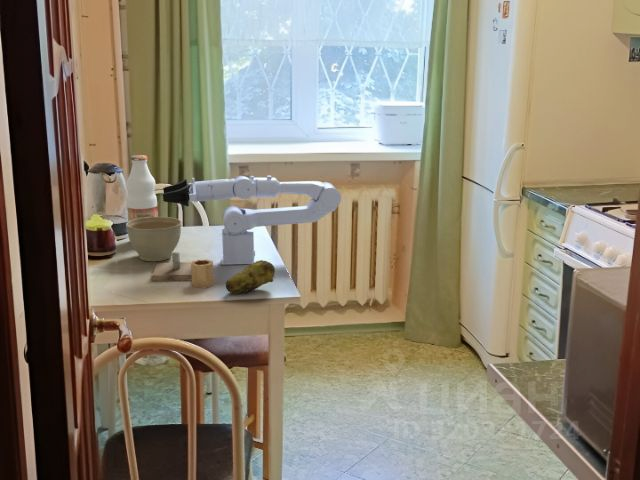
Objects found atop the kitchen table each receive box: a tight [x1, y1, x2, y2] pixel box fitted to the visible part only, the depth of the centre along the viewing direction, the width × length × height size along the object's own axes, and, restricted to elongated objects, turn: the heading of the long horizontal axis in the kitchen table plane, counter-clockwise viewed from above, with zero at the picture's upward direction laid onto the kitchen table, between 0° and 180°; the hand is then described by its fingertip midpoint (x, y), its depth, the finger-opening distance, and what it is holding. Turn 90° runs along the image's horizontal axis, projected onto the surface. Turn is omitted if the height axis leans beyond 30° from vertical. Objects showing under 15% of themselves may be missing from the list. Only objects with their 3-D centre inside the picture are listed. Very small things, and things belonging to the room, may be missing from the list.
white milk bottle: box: [125, 154, 159, 244], centre depth 250 cm, size 9×9×28 cm
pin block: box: [151, 251, 192, 282], centre depth 220 cm, size 12×12×6 cm
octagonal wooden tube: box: [191, 259, 214, 288], centre depth 211 cm, size 6×6×6 cm
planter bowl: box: [125, 216, 182, 262], centre depth 235 cm, size 16×16×11 cm
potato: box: [225, 259, 276, 294], centre depth 205 cm, size 8×13×8 cm, turn 96°
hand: (163, 194), depth 224 cm, fingers open, 7 cm apart
